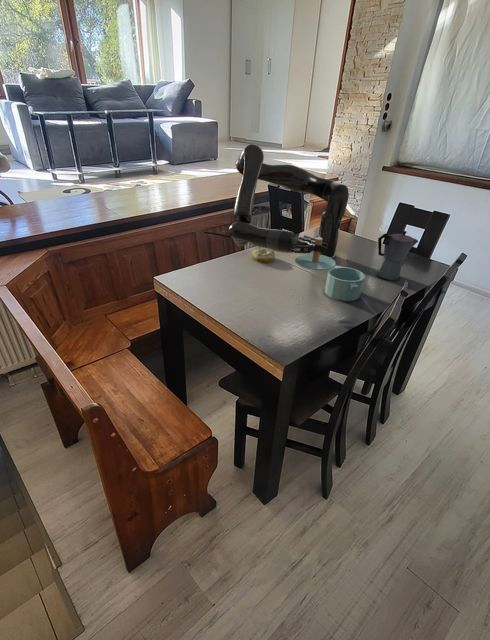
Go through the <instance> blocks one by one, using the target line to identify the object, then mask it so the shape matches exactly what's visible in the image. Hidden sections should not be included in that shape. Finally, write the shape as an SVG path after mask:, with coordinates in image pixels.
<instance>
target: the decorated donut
mask: <svg viewBox="0 0 490 640" xmlns="http://www.w3.org/2000/svg"><path fill="white" fill-rule="evenodd" d="M275 257H276V253H275V252H274V250H271V249H268V248H257V249H255V250H253V251H252V258H253V259H254V260H255V261H257V262H259V263H266V264H267V263H271V262H272V261H274V259H275Z"/></svg>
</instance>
